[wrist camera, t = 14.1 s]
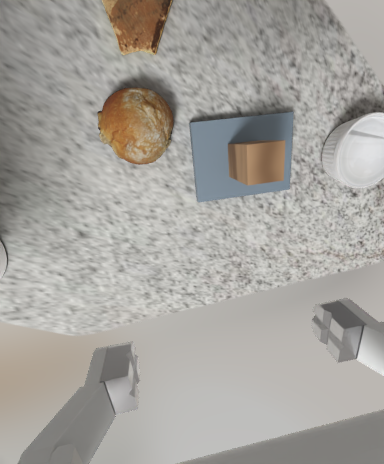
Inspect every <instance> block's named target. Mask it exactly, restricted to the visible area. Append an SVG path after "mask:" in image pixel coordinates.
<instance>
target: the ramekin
mask: <svg viewBox="0 0 384 464" xmlns="http://www.w3.org/2000/svg"><path fill="white" fill-rule="evenodd" d="M322 163H323V167H324V169H325V171H326V173H327V174H328V175H329V176H331V177H332V178H334V179H336V180H338V181H340V182H341V183H343V184H344V185H346V186H348V187H352V188H366V187H369V186H372V185H374V184H376V183H377V182H378V181H380V180H381V179H382V178H384V113H383V112H373V113H368V114H365V115H363V116H360V117H359V118H356V119H353V120H350V121H348V122H345V123H343V124H341V125H340V126H338V127H337V128H336V129H335V130H334V131H333V132H332V133H331V134H330V135H329V137H328V138H327V140H326V142H325V144H324V147H323V151H322Z"/></svg>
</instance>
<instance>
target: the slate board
mask: <svg viewBox="0 0 384 464" xmlns="http://www.w3.org/2000/svg"><path fill="white" fill-rule="evenodd" d="M189 126H190V136H191V146H192V156H193V166H194V176H195V187H196V197H197V201H198V202H204V201H211V200H218V199H225V198H232V197H239V196H246V195H253V194H260V193H267V192H274V191H281V190H288V189H290V170H291V150H292V131H293V112H286V113H277V114H267V115H258V116H248V117H239V118H230V119H220V120H211V121H201V122H192V123H189ZM258 140H285V161H284V181H277V182H270V183H262V184H255V185H245V184H243V183H241V182H239V181H237V180H235V179H233V178H231V177H229V162H228V144H232V143H241V142H249V141H258Z"/></svg>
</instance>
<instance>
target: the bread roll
mask: <svg viewBox="0 0 384 464" xmlns="http://www.w3.org/2000/svg"><path fill="white" fill-rule="evenodd" d="M98 119H99V124H98V129H99V130H100V134H99V137H100V139H101V142H103V143H104V144H108V145H110V146H111V147H112V148H113V151H114V152H115V154H116V155H117V156H118V157H119V158H122V159H125V160H126V161H128V162H130V163H133V164H139V165H140V164H148V163H152V162H154V161H156V160H157V159H158V158H160V157H161V155H162V154H163V153H164V152H165V150H166V149H167V148H168V146H169V145H170V143H171V139H169V138H170V137H171V134H172V129H173V115H172V111H171V109H170V107H169V105H168V104H167V102H166V101H165V100H164V99H163V98H162V97H161V96H160V95H158V94H157V93H156V92H154V91H152V90H149V89H145V88H124V89H122V90H119V91H117V92H115V93H113V94H112V95H111V96H110V97H108V99H107V100H106V102H105V103H104V105H103V110H102V111H99V112H98Z"/></svg>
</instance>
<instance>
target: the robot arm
mask: <svg viewBox="0 0 384 464" xmlns="http://www.w3.org/2000/svg"><path fill="white" fill-rule="evenodd" d="M6 266H7V256H6V252H5V249H4V246H3V244H2V243H1V241H0V279H1V278H2V276H3V274H4V273H5V270H6ZM313 312H314V314H315V316H314V318H313V319H312V328H313V332H314V334H315V336H316V337H317V338H318V339H319V341H321V342H323V343H324V344H326V345H327V350H328V352H329V353H330V354H331V355H332V356H333V357H334V359H335V360H336V361H337V362H343V361H348V360H353V359H357V360H358V361H360V362H361V363H363V364H364V365H366V366H368V367H370V368H371V369H373V370H374V371H376V372H378V373H379V374H381V375H383V376H384V322H378V321H377V320H375V319H374V318H373V317H371V316H370V315H369V314H368V313H367V312H365V311H364V310H363V309H362V308H360V307H359V306H358V305H357V304H355V303H354V302H353V301H352V300H350V299H348V298H344V299H340V300H336V301H330V302H325V303H321V304H316V305H315V306H314V307H313ZM139 369H140V368H139V360H138V356H136V355H135V345H134V342H128V343H122V344H116V345H111V346H107V347H101V348H96V350H95V351H94V353H93V356H92V360H91V363H90V367H89V371H88V374H87V378H86V381H85V385H84V386H83V387H80V388H79V389H78V390H77V391H76V393H75V394H74V395H73V396H72V397H71V398H70V399H69V401H68V402H67V403H66V404H65V405H64V406H63V408H62V409H61V410H60V411H59V412H58V413H57V414H56V415H55V417H54V418H53V419H52V420H51V421H50V422H49V424H48V425H47V426H46V427H45V428H44V429H43V430H42V432H41V433H40V434H39V435H38V436H37V437H36V438H35V439H34V441H33V442H32V443H31V444H30V445H29V446H28V448H27V449H26V450H25V451H24V452H23V453H22V455H21V457H20V460H19V462H18V464H89V463H90V461H91V459H92V458H93V456H94V454H95V452H96V450H97V449H98V447H99V445H100V443H101V442H102V440H103V438H104V436H105V434H106V433H107V431H108V429H109V427H110V425H111V424H112V422H113V420H114V418H115V417H116V416H115V415H116V414H121V413H124V412H128V411H132V410H136V409H138V399H139V390H138V386H137V384H138V382H139V381H140V370H139ZM177 464H384V409H383V410H380V411H376V412H372V413H368V414H364V415H361V416H357V417H353V418H349V419H345V420H342V421H337V422H334V423H330V424H326V425H322V426H318V427H314V428H311V429H307V430H303V431H299V432H295V433H292V434H288V435H284V436H280V437H277V438H272V439H269V440H265V441H261V442H257V443H253V444H250V445H246V446H242V447H238V448H234V449H231V450H227V451H223V452H219V453H216V454H211V455H208V456H204V457H200V458H196V459H193V460H188V461H185V462H181V463H177Z"/></svg>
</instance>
